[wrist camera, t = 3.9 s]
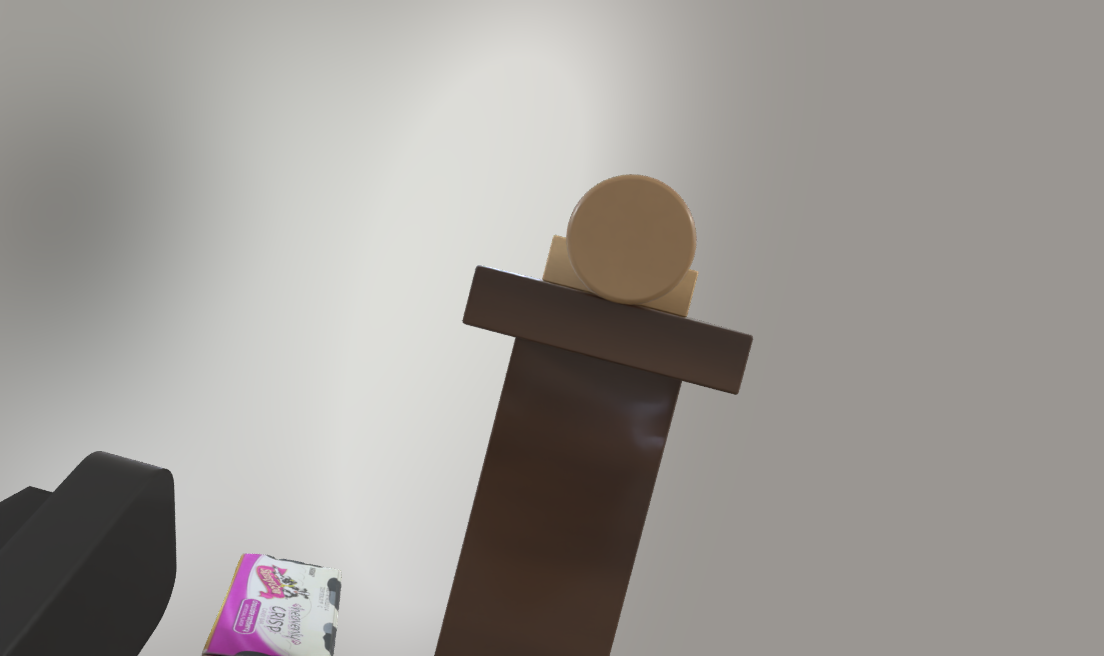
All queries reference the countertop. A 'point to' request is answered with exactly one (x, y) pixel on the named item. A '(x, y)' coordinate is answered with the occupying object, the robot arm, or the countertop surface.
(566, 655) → the wooden pedestal stand
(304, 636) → the candy bar box
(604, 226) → the spatula
